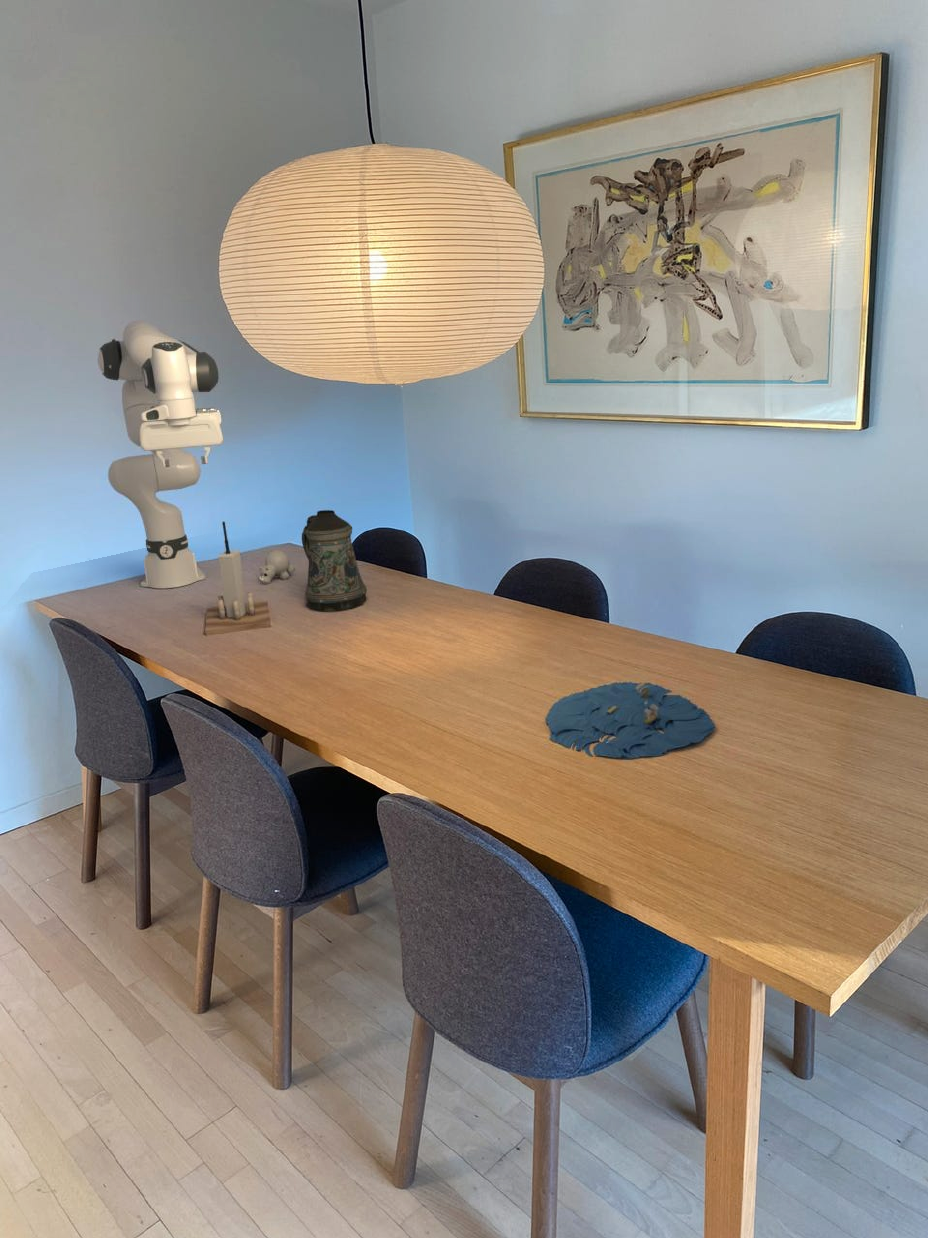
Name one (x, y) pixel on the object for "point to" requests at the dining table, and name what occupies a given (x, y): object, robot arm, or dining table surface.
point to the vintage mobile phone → (232, 579)
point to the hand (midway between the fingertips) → (186, 465)
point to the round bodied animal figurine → (276, 567)
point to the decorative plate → (627, 720)
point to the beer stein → (331, 564)
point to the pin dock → (237, 617)
